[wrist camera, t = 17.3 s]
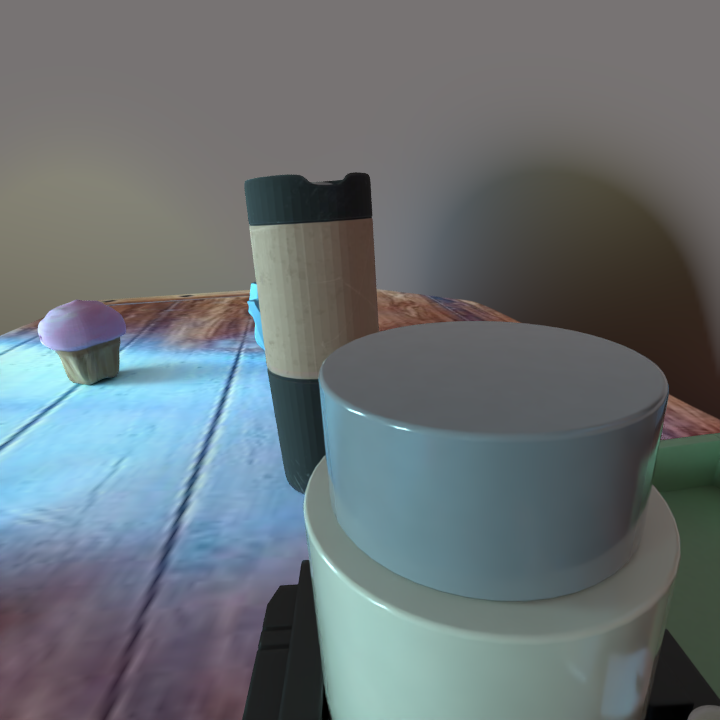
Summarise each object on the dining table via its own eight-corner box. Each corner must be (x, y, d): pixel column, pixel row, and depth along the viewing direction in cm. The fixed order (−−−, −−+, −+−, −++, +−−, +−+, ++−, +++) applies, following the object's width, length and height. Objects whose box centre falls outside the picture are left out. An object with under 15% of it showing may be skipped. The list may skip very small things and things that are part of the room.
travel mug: (314, 436, 37) (288, 185, 31) (399, 451, 34) (390, 175, 28) (260, 487, 31) (213, 181, 24) (360, 511, 28) (336, 168, 21)
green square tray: (707, 894, 12) (738, 808, 11) (479, 517, 26) (481, 463, 25) (1159, 776, 14) (1231, 690, 12) (710, 484, 28) (723, 431, 27)
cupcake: (117, 363, 60) (98, 291, 57) (149, 374, 55) (131, 295, 52) (43, 385, 54) (18, 305, 50) (72, 399, 48) (46, 311, 45)
